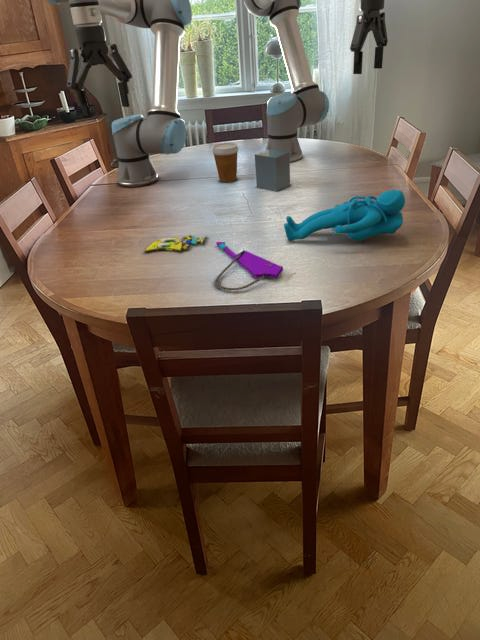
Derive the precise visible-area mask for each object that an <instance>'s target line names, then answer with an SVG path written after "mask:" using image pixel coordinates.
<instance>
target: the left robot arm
mask: <svg viewBox="0 0 480 640" xmlns="http://www.w3.org/2000/svg"><path fill="white" fill-rule="evenodd" d="M45 1H46V2H47V3H49V4H51V5H62V4H64V5H65V4H66V5H68V6H69V8H70V9H69V10H70V14H71V18H72V23H73V25H74V26H76V28H75V29H74V31H75V36H76V41H77V43H78V45H79V49H77V48H70V49H69V51H68V52H69V60H70V61H69V67H68V73H67V79H66V89H68V90H72V91H73V92H74V94H75V99H76V102H77V103H78V104H80V108H81V112H82V116H86V117H90V116H91V112H90V111H91V110H90V107H89V103H88V99H87V94H86V91H85V89H83V87H84V84H85V81H86V79H87V76H88V74H89V71H90V69H91V68H92V66H98V65H104V66H105V67H106V68H107V69H108V70H109V71H110V73H112V75H114V77H115V78H116V79H117V80H118V81H119V82H117V86H118V92H119V98H120V102H121V107H122V108H130V101H129V96H128V95H129V94H130V91H129V86H128V83H129V82H130V80H131V79H133V75H132V73H131V72H130V69H129V68H128V66H127V64H126V63H125V61H124V59H123V58H122V56H121V54H120V53H119V50H118V49H119V48H118V46H117V44H116V43H109V44H108V45H107V43H106V41H107V37H106V32H105V27H104V26H103V25H101V24H102V23H103V18H102V15H104V16H105V15H106V16H109V17H113V18H114V19H115V20H116V21H117V22H119V23H121V24H124V25H129V26H132V27H136V28H140V29H150V31H151V33H152V34H153V35H154V46H153V70H152V71H153V72H152V73H153V75H152V99H151V100H152V102H151V108H150V109H149V110H147V118H145V119H144V116H143V114H140V113H138V114H133V115H128V116H124V117H121V118H118V119H115V120H113V121H112V122H111V132H112V133H111V135H112V138H113V142H114V146H115V151H116V156H117V159H113V160H112V161H110V164H109V167H110V168H112V169H118V170H117V183H118V186H120V187H123V188H124V187H125V188H136V187H137V188H138V187H145V186H147V185H148V186H149V185H151V184H154V183H156V182H157V181H158V180H159V176H158V172H157V169H156V168H155V166H154V163H153V161H152V159H151V156H150V155H160V154H161V155H173V154H174V155H175V154H178V153H180V152H181V151H182V150H183V148H184V146H185V144H186V141H187V129H186V128H187V127H186V123H185V120H183V119H182V116H181V114H180V113H179V112H178V90H179V89H178V88H179V86H178V85H179V67H180V66H179V65H180V64H179V63H180V44H181V43H180V41H181V38H182V37H184V35H185V31H186V30H185V29H186V27H188V26H190V25H191V23H192V20H193V11H192V5H191V2H190V0H45ZM101 14H102V15H101ZM108 53H109V55H110V56H111V57H109V55H108ZM81 57H82V60H81V63H80V58H81ZM111 58H112V59H113V60H112V59H111ZM113 61H114V62H113ZM79 65H80V67H79ZM114 163H115V164H116V163H118V165H113V164H114Z"/></svg>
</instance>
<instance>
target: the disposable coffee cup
mask: <svg viewBox="0 0 480 640" xmlns="http://www.w3.org/2000/svg"><path fill="white" fill-rule="evenodd" d="M211 152H212V154H213V157H214V163H215V166H216V170H217V176H218V180H219V182H222V183H231V182H234V181H237V178H238V177H237V175H238V152H239V147H238V144H237V143H235V142H224V143H217V144H215V145H213V146H212V150H211Z"/></svg>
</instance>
